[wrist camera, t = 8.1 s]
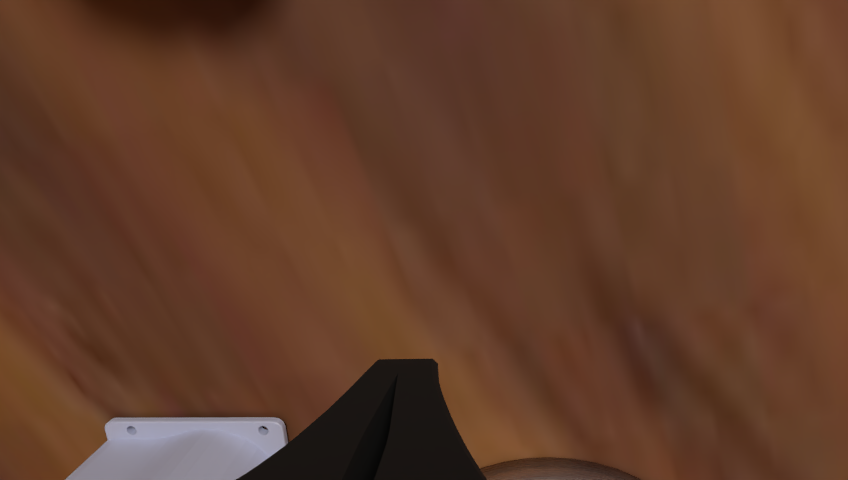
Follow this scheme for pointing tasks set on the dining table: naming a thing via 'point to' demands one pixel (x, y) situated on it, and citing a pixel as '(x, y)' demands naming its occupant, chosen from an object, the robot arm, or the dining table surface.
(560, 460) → the cap base
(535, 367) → the dining table surface
